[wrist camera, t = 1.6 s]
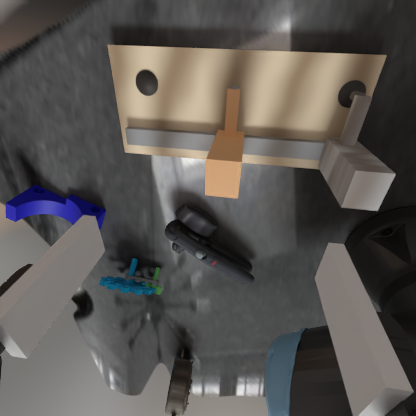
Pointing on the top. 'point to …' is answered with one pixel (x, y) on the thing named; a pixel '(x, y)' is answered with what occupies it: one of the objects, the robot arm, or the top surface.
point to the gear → (133, 282)
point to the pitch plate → (256, 110)
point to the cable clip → (51, 206)
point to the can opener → (205, 243)
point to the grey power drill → (179, 386)
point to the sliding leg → (226, 153)
